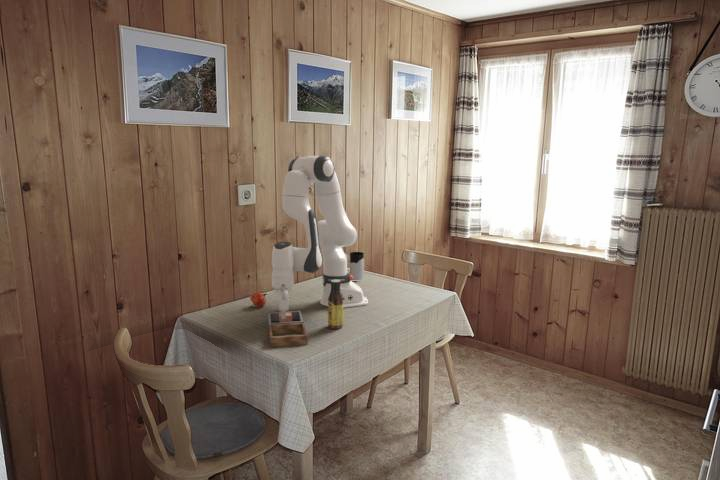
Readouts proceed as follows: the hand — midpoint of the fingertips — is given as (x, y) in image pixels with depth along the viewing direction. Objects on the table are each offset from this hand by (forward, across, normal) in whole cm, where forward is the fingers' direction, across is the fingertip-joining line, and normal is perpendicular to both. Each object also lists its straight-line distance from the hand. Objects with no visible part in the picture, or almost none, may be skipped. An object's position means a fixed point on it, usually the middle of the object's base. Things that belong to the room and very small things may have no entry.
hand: (283, 314), depth 207 cm
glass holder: (+3, +67, -41) cm, 78 cm away
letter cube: (+5, 0, -1) cm, 5 cm away
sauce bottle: (+4, -6, -21) cm, 22 cm away
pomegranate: (+5, +26, +10) cm, 28 cm away
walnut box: (+5, -15, -1) cm, 16 cm away
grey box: (+5, 0, -1) cm, 5 cm away
